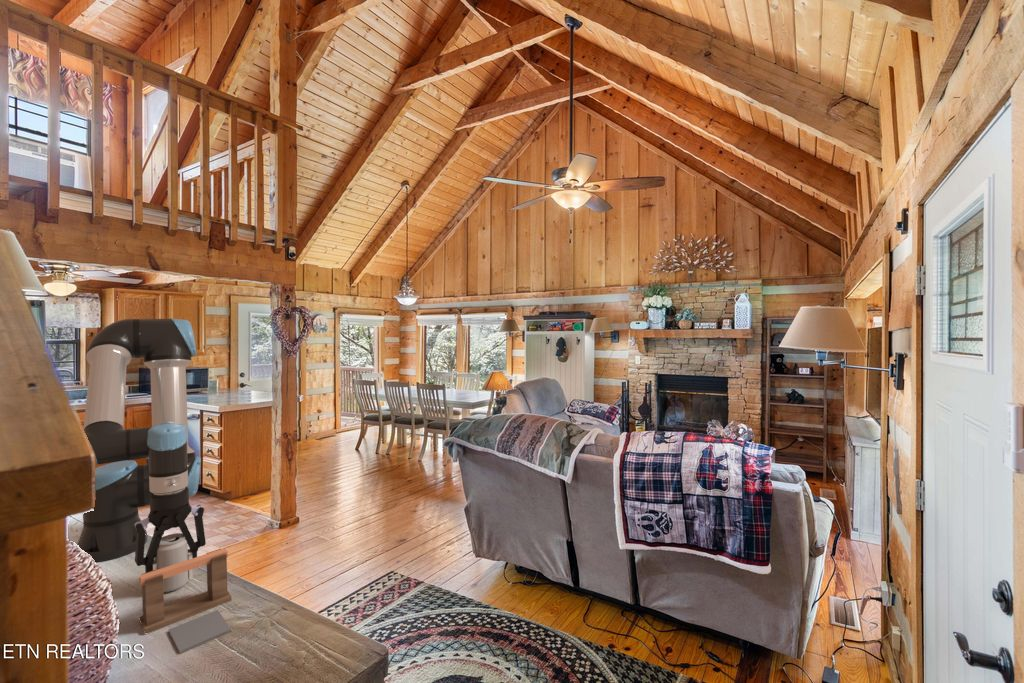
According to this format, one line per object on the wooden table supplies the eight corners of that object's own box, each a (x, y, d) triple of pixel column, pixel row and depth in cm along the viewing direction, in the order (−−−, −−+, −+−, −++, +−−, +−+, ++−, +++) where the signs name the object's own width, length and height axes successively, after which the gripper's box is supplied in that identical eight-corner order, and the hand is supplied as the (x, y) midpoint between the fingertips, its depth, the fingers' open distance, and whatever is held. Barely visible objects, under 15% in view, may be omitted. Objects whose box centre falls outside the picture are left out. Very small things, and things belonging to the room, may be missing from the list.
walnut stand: (139, 621, 101) (137, 573, 100) (223, 589, 113) (222, 546, 112) (145, 634, 97) (143, 584, 96) (231, 600, 109) (230, 555, 108)
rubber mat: (168, 631, 98) (168, 629, 98) (217, 611, 105) (217, 609, 105) (179, 653, 92) (179, 651, 92) (231, 631, 99) (231, 628, 98)
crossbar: (139, 582, 99) (139, 575, 99) (224, 554, 111) (224, 548, 111) (141, 586, 98) (141, 579, 98) (227, 557, 110) (227, 551, 109)
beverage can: (171, 596, 110) (170, 546, 109) (149, 592, 111) (147, 543, 110) (195, 580, 116) (193, 533, 115) (173, 577, 118) (172, 530, 117)
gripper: (120, 506, 102) (124, 607, 104) (220, 483, 117) (222, 572, 118) (114, 496, 108) (118, 593, 109) (210, 475, 122) (213, 561, 123)
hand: (172, 582), depth 114 cm, fingers closed on beverage can, 6 cm apart
